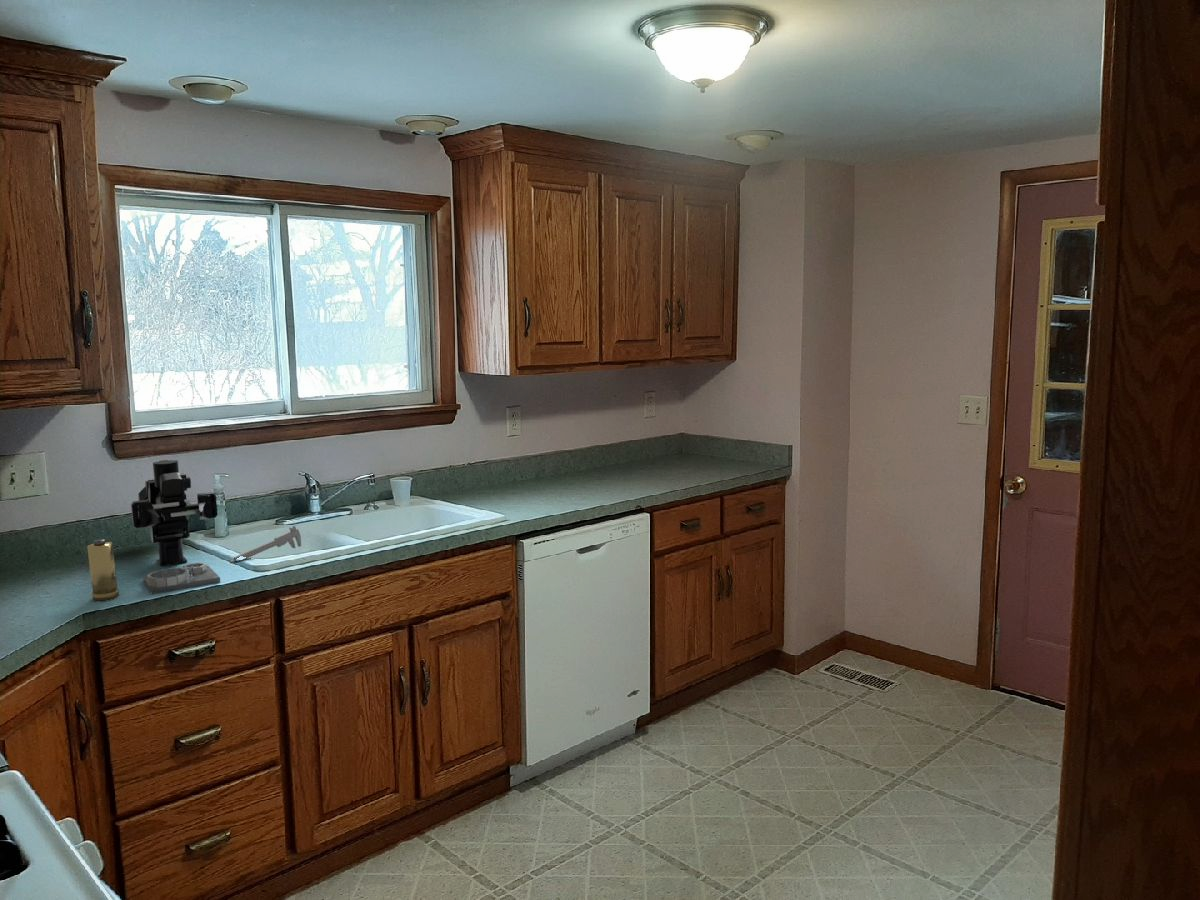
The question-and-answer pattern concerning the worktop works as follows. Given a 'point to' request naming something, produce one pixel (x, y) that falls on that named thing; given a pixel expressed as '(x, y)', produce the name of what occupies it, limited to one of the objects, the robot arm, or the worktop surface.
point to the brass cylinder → (102, 570)
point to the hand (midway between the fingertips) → (180, 516)
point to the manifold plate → (189, 583)
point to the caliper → (275, 543)
